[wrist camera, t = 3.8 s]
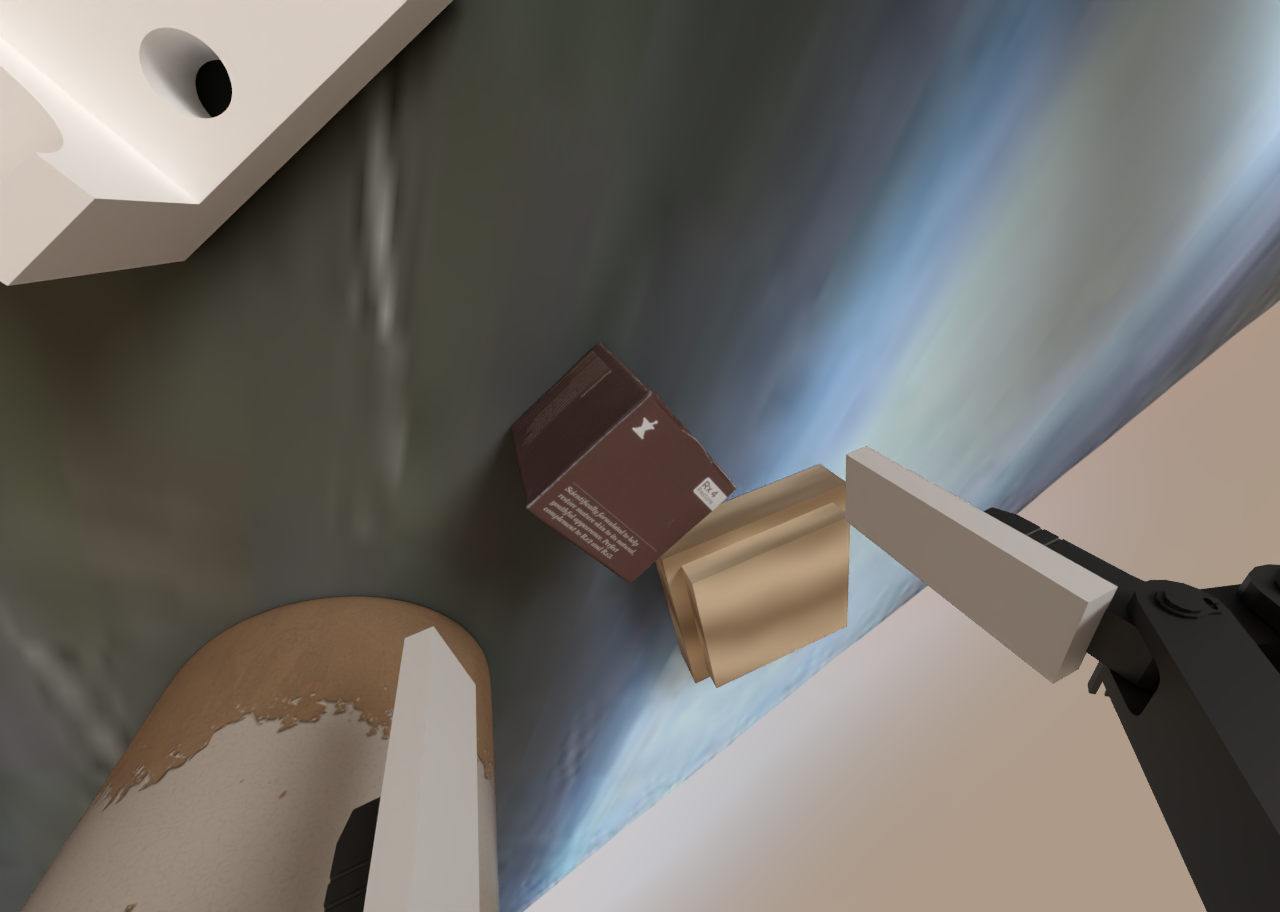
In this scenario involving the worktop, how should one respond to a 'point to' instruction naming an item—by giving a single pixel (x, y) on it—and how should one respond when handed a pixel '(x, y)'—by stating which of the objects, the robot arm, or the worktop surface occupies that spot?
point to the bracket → (165, 117)
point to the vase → (261, 767)
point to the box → (614, 466)
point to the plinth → (735, 530)
